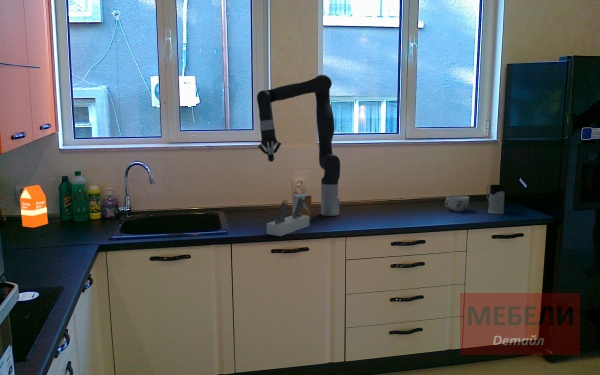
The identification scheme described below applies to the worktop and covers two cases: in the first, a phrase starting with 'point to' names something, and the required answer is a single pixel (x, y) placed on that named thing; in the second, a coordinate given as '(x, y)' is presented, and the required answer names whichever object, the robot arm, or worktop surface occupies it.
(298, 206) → the grey lever
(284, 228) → the switch box
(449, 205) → the teacup
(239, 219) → the worktop surface
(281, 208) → the tan tipped lever
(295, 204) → the small box
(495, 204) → the glass holder
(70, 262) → the worktop surface
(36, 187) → the orange juice
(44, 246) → the worktop surface
